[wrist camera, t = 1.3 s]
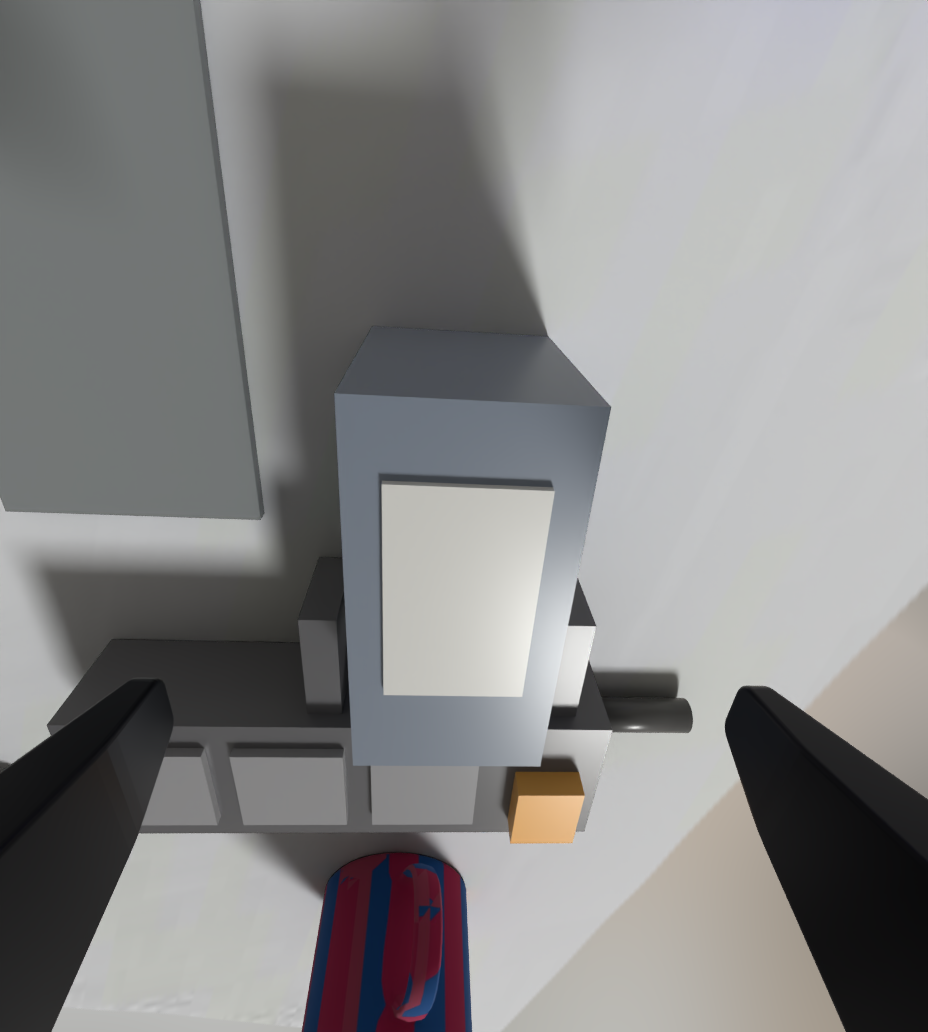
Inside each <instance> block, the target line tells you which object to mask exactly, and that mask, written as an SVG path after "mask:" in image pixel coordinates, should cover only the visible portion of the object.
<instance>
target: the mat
mask: <svg viewBox="0 0 928 1032" xmlns="http://www.w3.org/2000/svg"><path fill="white" fill-rule="evenodd" d="M0 498H1V500H2V503H3V505H4V508H5V511H11V512H41V513H71V514H100V515H130V516H160V517H189V518H219V519H249V520H261V518H262V517H263V515H264V506H263V498H262V490H261V482H260V474H259V466H258V458H257V450H256V442H255V434H254V426H253V418H252V410H251V402H250V394H249V386H248V378H247V370H246V363H245V355H244V347H243V339H242V331H241V323H240V315H239V307H238V299H237V291H236V283H235V275H234V267H233V259H232V251H231V243H230V235H229V227H228V219H227V211H226V203H225V195H224V187H223V179H222V171H221V164H220V156H219V148H218V140H217V132H216V124H215V116H214V108H213V100H212V92H211V84H210V76H209V68H208V60H207V52H206V44H205V36H204V28H203V20H202V12H201V4H200V0H0Z"/></svg>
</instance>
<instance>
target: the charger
mask: <svg viewBox="0 0 928 1032" xmlns="http://www.w3.org/2000/svg"><path fill="white" fill-rule="evenodd" d="M334 399H335V419H336V439H337V458H338V478H339V498H340V518H341V538H342V558H343V578H344V598H345V617H346V637H347V657H348V677H349V697H350V717H351V737H352V756H353V766H539V767H540V765H541V760H542V755H543V750H544V745H545V740H546V735H547V730H548V724H549V719H550V714H551V709H552V704H553V699H554V694H555V689H556V684H557V679H558V674H559V669H560V664H561V659H562V654H563V648H564V643H565V638H566V633H567V628H568V623H569V618H570V613H571V608H572V603H573V598H574V593H575V588H576V583H577V577H578V572H579V567H580V562H581V557H582V552H583V547H584V542H585V537H586V532H587V527H588V522H589V517H590V512H591V506H592V501H593V496H594V491H595V486H596V481H597V476H598V471H599V466H600V461H601V456H602V451H603V446H604V441H605V436H606V430H607V425H608V420H609V415H610V410H611V406H610V405H609V404H608V403H607V402H606V401H605V400H604V399H603V397H602V396H601V395H600V394H599V393H598V392H597V391H596V390H595V388H594V387H593V386H592V385H591V384H590V383H589V382H588V381H587V379H586V378H585V377H584V376H583V375H582V374H581V373H580V372H579V370H578V369H577V368H576V367H575V366H574V365H573V364H572V363H571V361H570V360H569V359H568V358H567V357H566V356H565V355H564V354H563V352H562V351H561V350H560V349H559V348H558V347H557V346H556V344H555V343H554V342H553V341H552V340H551V339H550V338H549V337H548V336H534V335H517V334H499V333H482V332H465V331H448V330H430V329H413V328H396V327H379V326H372V328H371V330H370V331H369V333H368V335H367V337H366V338H365V340H364V342H363V344H362V345H361V347H360V349H359V351H358V352H357V354H356V356H355V358H354V360H353V361H352V363H351V365H350V367H349V368H348V370H347V372H346V374H345V375H344V377H343V379H342V381H341V382H340V384H339V386H338V388H337V389H336V391H335V393H334Z"/></svg>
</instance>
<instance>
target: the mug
mask: <svg viewBox="0 0 928 1032" xmlns="http://www.w3.org/2000/svg"><path fill="white" fill-rule="evenodd" d="M302 1032H472V1020H471V996H470V973H469V949H468V926H467V902H466V887H465V884H464V881H463V880H462V878H461V877H460V875H459V874H458V873H457V872H456V871H455V870H454V869H453V868H451V867H450V866H448V865H447V864H445V863H443V862H441V861H439V860H437V859H434V858H431V857H427V856H424V855H418V854H413V853H383V854H375V855H371V856H367V857H363V858H360V859H357V860H355V861H352V862H350V863H348V864H347V865H345V866H343V867H342V868H340V869H339V870H338V871H337V872H336V873H335V874H334V875H333V876H332V877H331V878H330V879H329V881H328V883H327V885H326V888H325V894H324V900H323V906H322V912H321V918H320V924H319V930H318V936H317V942H316V949H315V955H314V961H313V967H312V973H311V979H310V985H309V991H308V997H307V1003H306V1009H305V1015H304V1021H303V1027H302Z"/></svg>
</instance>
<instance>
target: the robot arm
mask: <svg viewBox="0 0 928 1032" xmlns="http://www.w3.org/2000/svg"><path fill="white" fill-rule="evenodd" d="M173 725H174V716H173V711H172V708H171V704H170V700H169V696H168V693H167V689H166V685H165V683H164V681H163V680H162V679H160V678H132V679H130V680H128V681H127V682H125V683H124V684H122V685H121V686H120V687H118V688H117V689H115V690H114V691H113V692H111V693H110V694H108V695H107V696H106V697H104V698H103V699H102V700H100V701H99V702H97V703H96V704H95V705H93V706H92V707H90V708H89V709H88V710H86V711H85V712H83V713H82V714H81V715H79V716H78V717H76V718H75V719H74V720H72V721H71V722H69V723H68V724H67V725H65V726H64V727H63V728H61V729H60V730H58V731H57V732H56V733H54V734H53V735H51V736H50V737H49V738H47V739H46V740H44V741H43V742H42V743H40V744H39V745H37V746H36V747H35V748H33V749H32V750H30V751H29V752H28V753H26V754H25V755H24V756H22V757H21V758H19V759H18V760H17V761H15V762H14V763H12V764H11V765H10V766H8V767H7V768H5V769H4V770H3V771H1V772H0V1032H51V1031H52V1029H53V1027H54V1024H55V1022H56V1020H57V1018H58V1015H59V1013H60V1011H61V1009H62V1006H63V1004H64V1002H65V1000H66V997H67V995H68V993H69V991H70V988H71V986H72V984H73V982H74V979H75V977H76V975H77V973H78V970H79V968H80V966H81V964H82V961H83V959H84V957H85V954H86V952H87V950H88V948H89V945H90V943H91V941H92V939H93V936H94V934H95V932H96V930H97V927H98V925H99V923H100V921H101V918H102V916H103V914H104V912H105V909H106V907H107V905H108V903H109V900H110V898H111V896H112V894H113V891H114V889H115V887H116V885H117V882H118V880H119V878H120V876H121V873H122V871H123V869H124V867H125V864H126V862H127V860H128V858H129V855H130V853H131V851H132V848H133V846H134V843H135V841H136V839H137V836H138V834H139V831H140V828H141V825H142V822H143V820H144V817H145V814H146V811H147V808H148V805H149V801H150V798H151V795H152V792H153V789H154V786H155V783H156V780H157V777H158V774H159V771H160V768H161V765H162V762H163V759H164V755H165V752H166V749H167V746H168V743H169V740H170V737H171V734H172V731H173ZM725 733H726V737H727V740H728V743H729V746H730V749H731V752H732V755H733V758H734V761H735V765H736V768H737V771H738V774H739V777H740V780H741V783H742V786H743V789H744V792H745V795H746V798H747V801H748V804H749V807H750V810H751V813H752V816H753V819H754V821H755V824H756V827H757V830H758V832H759V835H760V837H761V839H762V842H763V844H764V847H765V849H766V851H767V854H768V856H769V858H770V860H771V863H772V865H773V867H774V869H775V872H776V874H777V876H778V879H779V881H780V883H781V885H782V888H783V890H784V892H785V894H786V897H787V899H788V901H789V904H790V906H791V908H792V910H793V912H794V915H795V917H796V920H797V922H798V924H799V926H800V929H801V931H802V933H803V935H804V938H805V940H806V942H807V945H808V947H809V949H810V951H811V953H812V956H813V958H814V960H815V963H816V965H817V967H818V970H819V972H820V974H821V976H822V979H823V981H824V983H825V985H826V988H827V990H828V992H829V995H830V997H831V999H832V1001H833V1004H834V1006H835V1008H836V1011H837V1013H838V1015H839V1017H840V1020H841V1022H842V1024H843V1026H844V1029H845V1031H846V1032H928V799H927V798H925V797H924V796H922V795H921V794H919V793H918V792H917V791H915V790H914V789H912V788H911V787H909V786H908V785H907V784H905V783H904V782H903V781H901V780H900V779H898V778H897V777H895V776H894V775H893V774H891V773H890V772H888V771H887V770H885V769H884V768H883V767H881V766H880V765H879V764H877V763H876V762H874V761H873V760H871V759H870V758H869V757H867V756H866V755H865V754H863V753H862V752H860V751H859V750H857V749H856V748H855V747H853V746H852V745H850V744H849V743H848V742H846V741H845V740H843V739H842V738H840V737H839V736H838V735H836V734H835V733H834V732H832V731H830V730H829V729H828V728H826V727H825V726H823V725H822V724H821V723H819V722H818V721H816V720H815V719H814V718H812V717H811V716H810V715H808V714H807V713H805V712H804V711H802V710H801V709H800V708H798V707H797V706H795V705H794V704H793V703H791V702H790V701H788V700H787V699H786V698H784V697H783V696H781V695H780V694H779V693H777V692H776V691H774V690H773V689H771V688H769V687H766V686H742V687H741V688H740V689H739V690H738V692H737V694H736V696H735V699H734V701H733V703H732V706H731V708H730V711H729V713H728V716H727V718H726V721H725Z"/></svg>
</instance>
